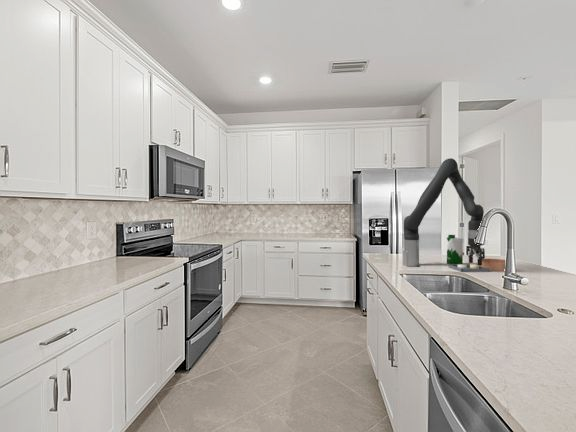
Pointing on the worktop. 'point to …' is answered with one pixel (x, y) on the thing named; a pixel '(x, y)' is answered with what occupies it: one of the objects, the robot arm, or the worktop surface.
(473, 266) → the sandstone pebble
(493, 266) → the bowl
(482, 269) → the tray
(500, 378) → the worktop surface
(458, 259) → the milk carton
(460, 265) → the white pebble
